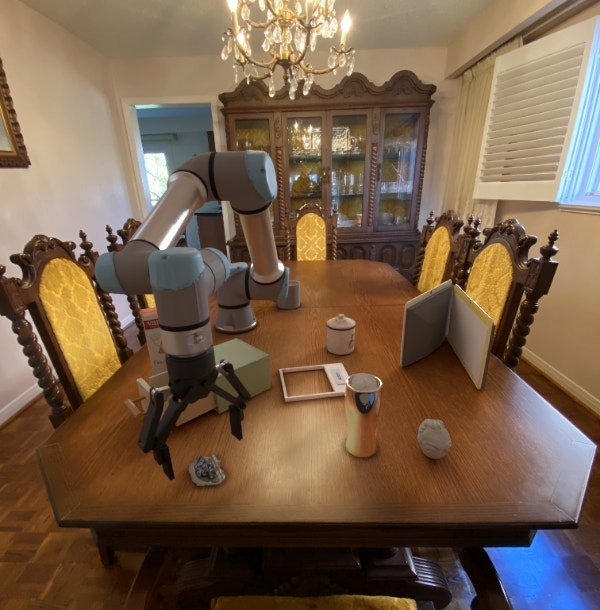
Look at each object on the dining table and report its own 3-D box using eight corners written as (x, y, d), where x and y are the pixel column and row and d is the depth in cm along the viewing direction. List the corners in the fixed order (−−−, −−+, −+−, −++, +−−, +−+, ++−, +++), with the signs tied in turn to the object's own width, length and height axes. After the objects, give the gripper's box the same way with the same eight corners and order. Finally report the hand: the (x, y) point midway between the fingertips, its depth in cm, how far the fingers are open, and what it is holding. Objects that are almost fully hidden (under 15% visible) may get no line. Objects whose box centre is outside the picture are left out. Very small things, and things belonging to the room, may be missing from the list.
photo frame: (357, 390, 86) (285, 397, 83) (356, 393, 86) (285, 401, 84) (341, 362, 99) (279, 368, 97) (341, 365, 100) (279, 371, 97)
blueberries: (210, 451, 69) (209, 444, 68) (237, 470, 64) (236, 462, 63) (180, 472, 64) (179, 464, 63) (207, 494, 59) (205, 486, 59)
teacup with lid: (354, 356, 105) (356, 320, 101) (324, 354, 106) (325, 319, 102) (355, 339, 116) (356, 307, 112) (328, 338, 118) (328, 306, 113)
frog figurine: (440, 440, 70) (444, 412, 68) (455, 467, 64) (461, 436, 61) (410, 442, 70) (413, 413, 68) (423, 468, 64) (427, 438, 61)
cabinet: (219, 414, 80) (214, 378, 77) (189, 389, 90) (184, 357, 87) (271, 387, 90) (269, 354, 87) (239, 368, 100) (236, 338, 97)
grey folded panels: (495, 391, 86) (510, 318, 79) (405, 388, 88) (412, 317, 81) (452, 334, 118) (461, 278, 111) (387, 333, 120) (392, 278, 113)
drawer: (146, 445, 70) (138, 413, 67) (123, 416, 79) (115, 387, 76) (226, 405, 82) (222, 376, 79) (198, 384, 91) (194, 357, 88)
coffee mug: (299, 300, 156) (298, 279, 152) (301, 308, 147) (300, 285, 143) (269, 302, 155) (268, 280, 151) (269, 310, 145) (268, 287, 142)
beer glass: (340, 436, 72) (341, 373, 67) (372, 433, 73) (377, 371, 67) (347, 460, 66) (349, 393, 60) (383, 457, 66) (388, 391, 61)
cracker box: (156, 390, 90) (141, 315, 82) (154, 380, 95) (139, 308, 87) (210, 376, 96) (200, 305, 88) (205, 367, 101) (195, 299, 93)
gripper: (112, 387, 44) (143, 509, 52) (265, 331, 60) (272, 431, 68) (95, 367, 49) (126, 481, 57) (240, 321, 65) (249, 414, 73)
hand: (205, 454), depth 62 cm, fingers open, 13 cm apart
